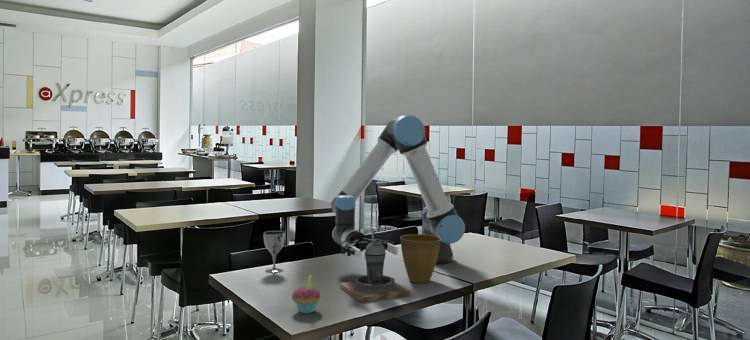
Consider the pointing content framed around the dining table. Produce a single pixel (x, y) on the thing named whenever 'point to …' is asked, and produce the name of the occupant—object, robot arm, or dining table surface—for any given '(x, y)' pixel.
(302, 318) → the dining table surface
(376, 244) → the beverage cup
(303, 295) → the cupcake
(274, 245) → the wine glass
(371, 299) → the ring holder
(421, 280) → the plant pot
